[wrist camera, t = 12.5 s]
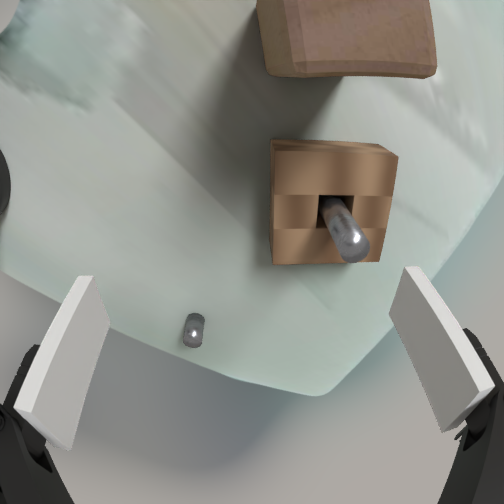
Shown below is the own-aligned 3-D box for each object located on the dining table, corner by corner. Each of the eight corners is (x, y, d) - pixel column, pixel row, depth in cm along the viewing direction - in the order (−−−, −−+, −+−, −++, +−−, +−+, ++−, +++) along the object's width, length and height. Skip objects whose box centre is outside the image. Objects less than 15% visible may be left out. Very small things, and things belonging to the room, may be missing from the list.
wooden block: (349, 72, 31) (443, 81, 15) (266, 77, 32) (290, 79, 15) (339, -2, 26) (422, -54, 9) (254, 0, 27) (264, -70, 10)
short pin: (188, 325, 52) (184, 347, 48) (185, 313, 51) (181, 335, 46) (205, 325, 52) (202, 347, 48) (203, 313, 51) (200, 335, 46)
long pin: (311, 203, 41) (337, 263, 29) (312, 182, 39) (342, 235, 27) (332, 203, 41) (367, 262, 29) (334, 182, 39) (372, 235, 27)
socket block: (269, 240, 44) (272, 264, 38) (270, 139, 36) (275, 150, 31) (365, 238, 44) (379, 261, 39) (378, 144, 36) (398, 156, 31)
